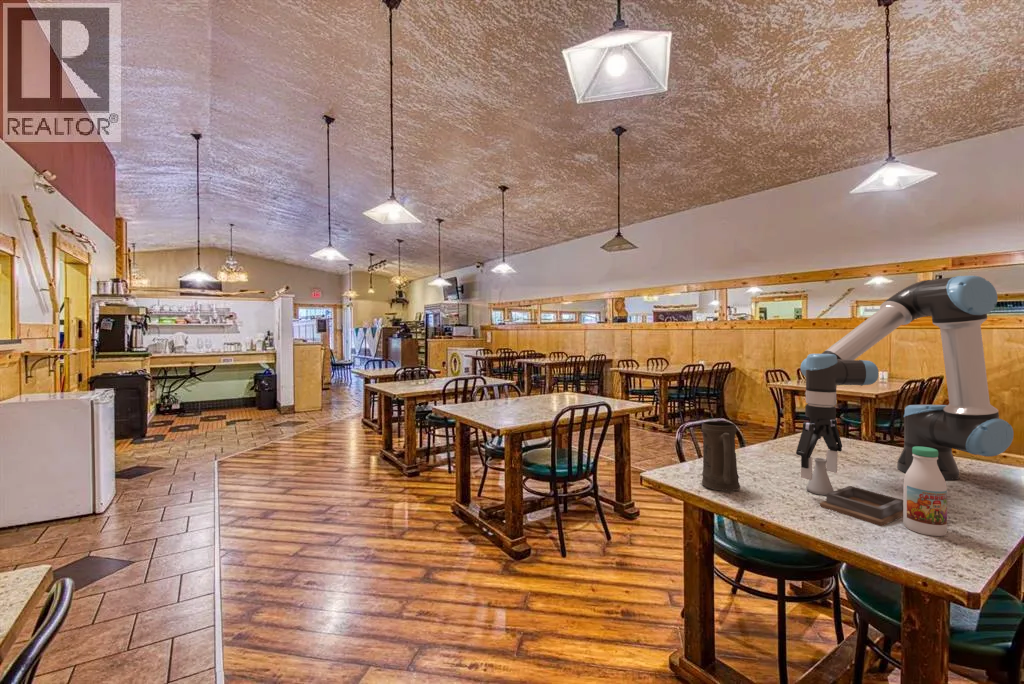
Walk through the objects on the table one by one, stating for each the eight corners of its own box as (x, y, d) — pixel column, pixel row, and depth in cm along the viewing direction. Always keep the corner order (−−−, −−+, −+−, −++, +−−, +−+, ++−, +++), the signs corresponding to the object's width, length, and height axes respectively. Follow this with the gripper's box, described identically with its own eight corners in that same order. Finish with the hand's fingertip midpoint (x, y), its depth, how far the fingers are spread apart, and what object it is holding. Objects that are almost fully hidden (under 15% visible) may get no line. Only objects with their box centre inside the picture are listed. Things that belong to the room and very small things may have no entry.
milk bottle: (894, 523, 109) (895, 444, 109) (922, 522, 110) (923, 443, 109) (926, 538, 101) (927, 453, 101) (956, 536, 102) (957, 452, 102)
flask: (840, 497, 127) (840, 463, 127) (812, 495, 128) (812, 462, 128) (827, 488, 134) (827, 456, 134) (801, 487, 135) (801, 455, 135)
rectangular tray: (850, 495, 128) (850, 483, 128) (911, 513, 115) (911, 499, 115) (819, 506, 120) (819, 494, 120) (881, 526, 108) (881, 512, 108)
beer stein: (695, 480, 143) (695, 419, 142) (728, 480, 142) (728, 419, 142) (716, 498, 127) (715, 430, 127) (753, 498, 127) (753, 430, 126)
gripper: (829, 400, 140) (828, 465, 140) (783, 406, 128) (782, 477, 129) (856, 403, 133) (855, 472, 133) (810, 410, 121) (809, 485, 122)
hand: (819, 475), depth 131 cm, fingers open, 13 cm apart
